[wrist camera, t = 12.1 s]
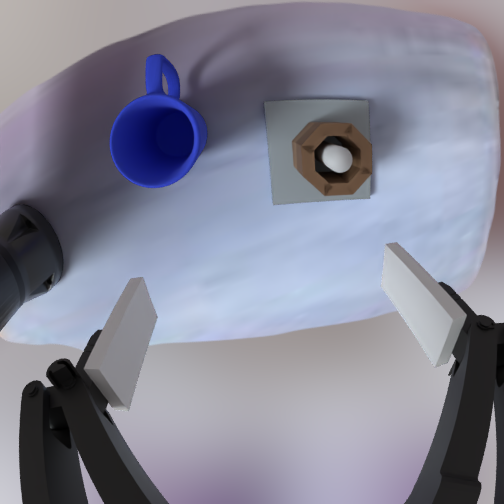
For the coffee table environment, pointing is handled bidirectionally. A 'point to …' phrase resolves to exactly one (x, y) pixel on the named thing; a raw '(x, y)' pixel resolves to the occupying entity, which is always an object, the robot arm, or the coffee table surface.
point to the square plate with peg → (326, 154)
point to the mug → (157, 131)
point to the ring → (333, 180)
